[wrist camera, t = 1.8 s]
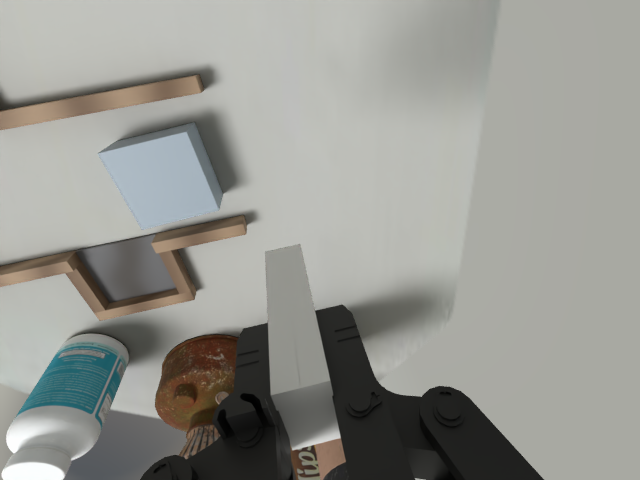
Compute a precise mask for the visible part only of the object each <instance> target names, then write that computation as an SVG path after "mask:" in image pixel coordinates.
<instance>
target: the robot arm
mask: <svg viewBox="0 0 640 480" xmlns="http://www.w3.org/2000/svg"><path fill="white" fill-rule="evenodd" d="M265 262H266V288H267V313H268V323H266V324H261V325H257V326H253V327H249V328H244V329H243V331H242V333H241V335H240V337H239V339H238V341H237V349H236V364H235V367H236V369H235V378H234V392H233V393H231V394H230V395H228V396H227V397H226V398H225V399H223V400H222V401H221V403H220V404H219V406H218V407H217V409H216V410H215V412H214V416H213V419H212V423H213V424H214V426H215V428H216V429H217V431H218V433H219V434H220V437H219V438H218V439H217V440H216V441H215V442H213V443H212V444H211V445H209V446H208V447H206V448H205V449H203V450H201V451H200V452H198V453H196V454H195V455H193V456H191V457H190V458H188V459H185V458H184V457H181V456H178V455H173V456H169V457H164V458H163V459H161V460H159V461H158V462H156V463H154V464H153V465H152V466H151V467H150V468H149V469H148V470H147V471H146V472H145V473H144V474H143V476H142V478H141V479H140V480H296V475H295V471H294V467H293V464H292V462H291V450H290V445H291V448H292V450H296V449H300V448H304V447H308V446H312V445H315V444H319V443H323V442H327V441H331V440H335V439H339V438H341V441H342V446H343V451H344V455H345V460H346V465H347V470H348V474H349V479H350V480H415V478H419V479H426V480H544V479H543V478H542V477H541V476H540V475H539V474H538V473H537V472H536V470H535V469H534V468H533V467H532V466H531V465H530V464H529V463H528V462H527V461H526V460H525V459H524V457H523V456H522V455H521V454H520V453H519V452H518V451H517V450H516V449H515V448H514V446H513V445H512V444H511V443H510V442H509V441H508V440H507V439H506V438H505V437H504V435H503V434H502V433H501V432H500V431H499V430H498V429H497V428H496V427H495V426H494V425H493V423H492V422H491V421H490V420H489V419H488V418H487V417H486V416H485V415H484V414H483V413H482V412H481V411H480V409H479V408H478V407H477V406H476V405H475V404H474V403H473V402H472V400H471V399H470V398H468V397H467V396H466V395H465V394H463V393H462V392H461V391H459V390H456V389H454V388H451V387H444V386H438V387H435V388H432V389H429V390H428V391H427V392H426V393H425V394H424V395H423V396H422V397H417V396H405V395H399V394H395V393H392V392H390V391H388V390H386V389H385V388H384V387H382V386H381V385H380V384H379V382H378V381H377V380H376V378H375V376H374V374H373V371H372V368H371V366H370V363H369V360H368V357H367V354H366V352H365V349H364V346H363V343H362V340H361V338H360V335H359V332H358V329H357V327H356V324H355V321H354V318H353V315H352V313H351V312H350V311H349V310H348V309H347V308H346V307H345V306H343V305H339V306H334V307H330V308H326V309H322V310H317V311H315V309H314V304H313V300H312V295H311V291H310V286H309V282H308V277H307V272H306V268H305V263H304V259H303V254H302V250H301V245H300V244H298V245H294V246H289V247H285V248H280V249H276V250H271V251H267V252H265Z"/></svg>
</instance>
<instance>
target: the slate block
mask: <svg viewBox="0 0 640 480" xmlns="http://www.w3.org/2000/svg"><path fill="white" fill-rule="evenodd" d="M98 155H99V157H100V159H101V161H102V162H103V164H104V166H105V167H106V169H107V171H108V173H109V174H110V176H111V178H112V179H113V181H114V183H115V185H116V186H117V188H118V190H119V191H120V193H121V195H122V197H123V198H124V200H125V202H126V203H127V205H128V207H129V209H130V210H131V212H132V214H133V216H134V217H135V219H136V221H137V222H138V224H139V226H140V228H141V229H142V230H144V229H148V228H151V227H155V226H159V225H163V224H167V223H171V222H175V221H179V220H183V219H187V218H191V217H195V216H199V215H203V214H206V213H210V212H214V211H218V210H219V209H220V204H221V200H222V196H223V193H222V190H221V188H220V185H219V182H218V180H217V177H216V175H215V172H214V170H213V167H212V165H211V162H210V160H209V157H208V155H207V152H206V150H205V147H204V145H203V142H202V140H201V137H200V135H199V132H198V129H197V127H196V124H195V122H193V123H189V124H185V125H181V126H177V127H173V128H169V129H165V130H161V131H157V132H153V133H149V134H144V135H140V136H136V137H132V138H128V139H124V140H120V141H116V142H114V143H113V144H111V145H110V146H108V147H107V148H105V149H104V150H102V151H101V152H99V153H98Z"/></svg>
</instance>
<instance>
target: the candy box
mask: <svg viewBox="0 0 640 480" xmlns="http://www.w3.org/2000/svg"><path fill="white" fill-rule="evenodd" d="M290 450H291V462H292V464H293V467H294V471H295V475H296V480H320V474H319V468H318V461H317V454H316V448H315V445H312V446H308V447H304V448H300V449H296V450H292V448H291V445H290Z"/></svg>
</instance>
